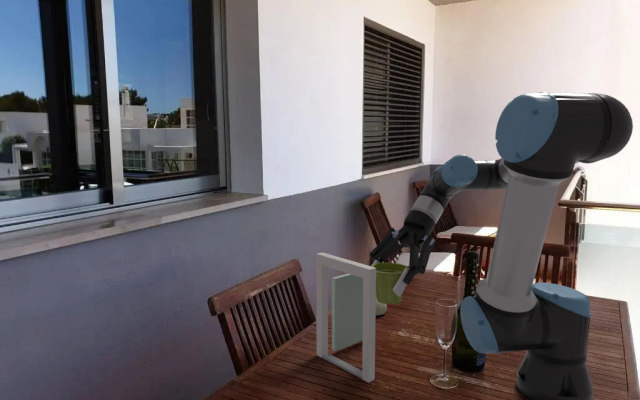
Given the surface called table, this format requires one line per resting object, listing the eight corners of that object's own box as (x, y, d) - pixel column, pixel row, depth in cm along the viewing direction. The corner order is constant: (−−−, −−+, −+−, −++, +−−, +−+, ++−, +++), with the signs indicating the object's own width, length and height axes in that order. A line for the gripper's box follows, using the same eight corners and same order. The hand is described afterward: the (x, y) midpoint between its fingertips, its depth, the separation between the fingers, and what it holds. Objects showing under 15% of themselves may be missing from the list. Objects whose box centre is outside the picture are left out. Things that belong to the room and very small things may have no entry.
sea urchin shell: (389, 301, 159) (387, 290, 153) (386, 324, 155) (384, 314, 148) (361, 298, 161) (357, 287, 155) (357, 321, 157) (354, 311, 151)
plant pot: (383, 292, 132) (384, 260, 131) (415, 299, 126) (415, 266, 125) (363, 301, 125) (363, 268, 124) (395, 310, 119) (395, 275, 118)
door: (364, 333, 137) (365, 266, 134) (371, 336, 135) (372, 268, 132) (328, 348, 128) (328, 276, 125) (335, 351, 126) (335, 278, 123)
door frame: (374, 379, 114) (376, 267, 110) (368, 382, 113) (369, 269, 109) (322, 352, 128) (322, 252, 124) (316, 355, 126) (316, 253, 122)
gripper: (464, 232, 125) (423, 308, 117) (397, 220, 141) (357, 286, 134) (452, 213, 120) (408, 291, 113) (385, 203, 137) (342, 270, 129)
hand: (380, 288), depth 123 cm, fingers closed on plant pot, 9 cm apart
